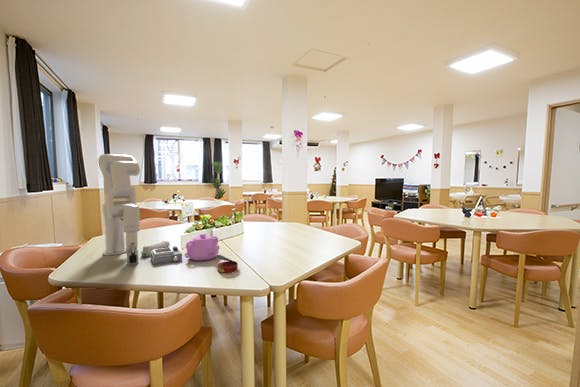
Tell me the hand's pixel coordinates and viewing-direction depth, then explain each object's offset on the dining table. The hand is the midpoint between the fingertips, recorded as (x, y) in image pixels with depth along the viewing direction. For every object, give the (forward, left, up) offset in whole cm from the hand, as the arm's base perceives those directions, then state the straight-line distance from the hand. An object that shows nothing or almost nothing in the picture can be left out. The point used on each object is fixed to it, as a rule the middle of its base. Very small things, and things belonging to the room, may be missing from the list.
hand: (132, 260), depth 136 cm
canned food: (+37, +39, -2) cm, 54 cm away
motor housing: (+3, +16, -2) cm, 16 cm away
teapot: (+12, +35, -2) cm, 37 cm away
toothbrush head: (-19, +13, -2) cm, 23 cm away
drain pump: (0, 0, -2) cm, 2 cm away
